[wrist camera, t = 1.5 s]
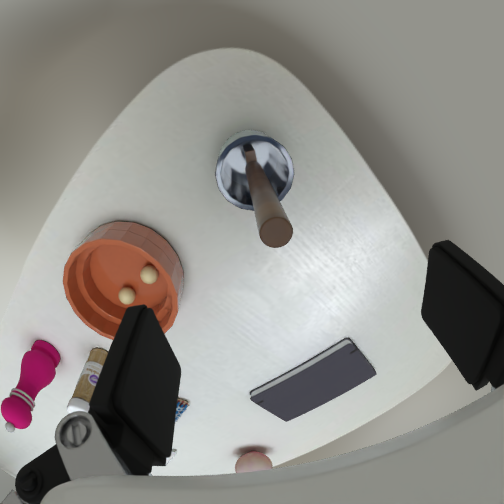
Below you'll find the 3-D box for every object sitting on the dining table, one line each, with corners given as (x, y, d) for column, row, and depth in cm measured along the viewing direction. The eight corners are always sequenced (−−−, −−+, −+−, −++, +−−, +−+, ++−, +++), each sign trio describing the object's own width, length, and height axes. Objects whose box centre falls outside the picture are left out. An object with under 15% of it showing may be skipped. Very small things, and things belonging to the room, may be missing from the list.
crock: (213, 136, 32) (208, 144, 25) (274, 124, 32) (287, 128, 25) (226, 194, 35) (225, 217, 28) (284, 182, 35) (298, 202, 28)
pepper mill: (27, 343, 45) (-14, 418, 27) (42, 333, 43) (-3, 415, 26) (51, 367, 48) (18, 444, 30) (68, 359, 47) (33, 443, 29)
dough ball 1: (118, 285, 39) (113, 294, 37) (133, 282, 39) (128, 292, 37) (125, 299, 40) (120, 308, 38) (139, 296, 40) (135, 306, 38)
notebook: (285, 416, 57) (374, 368, 52) (286, 422, 55) (377, 374, 50) (247, 392, 52) (348, 336, 47) (248, 398, 50) (351, 342, 46)
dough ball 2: (140, 263, 38) (135, 273, 36) (156, 260, 38) (152, 269, 36) (146, 279, 39) (142, 288, 37) (162, 276, 39) (159, 285, 37)
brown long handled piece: (240, 146, 32) (252, 200, 13) (254, 143, 32) (287, 193, 13) (246, 176, 34) (266, 268, 15) (260, 174, 34) (297, 262, 15)
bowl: (65, 234, 36) (45, 254, 30) (163, 207, 35) (152, 225, 30) (107, 322, 43) (95, 347, 37) (197, 307, 42) (194, 336, 37)
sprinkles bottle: (114, 353, 46) (93, 415, 34) (111, 368, 48) (92, 427, 36) (91, 343, 45) (65, 403, 33) (89, 358, 46) (66, 416, 34)
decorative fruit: (257, 440, 61) (260, 475, 53) (275, 449, 65) (279, 482, 56) (226, 450, 63) (227, 483, 55) (245, 459, 67) (248, 490, 58)
